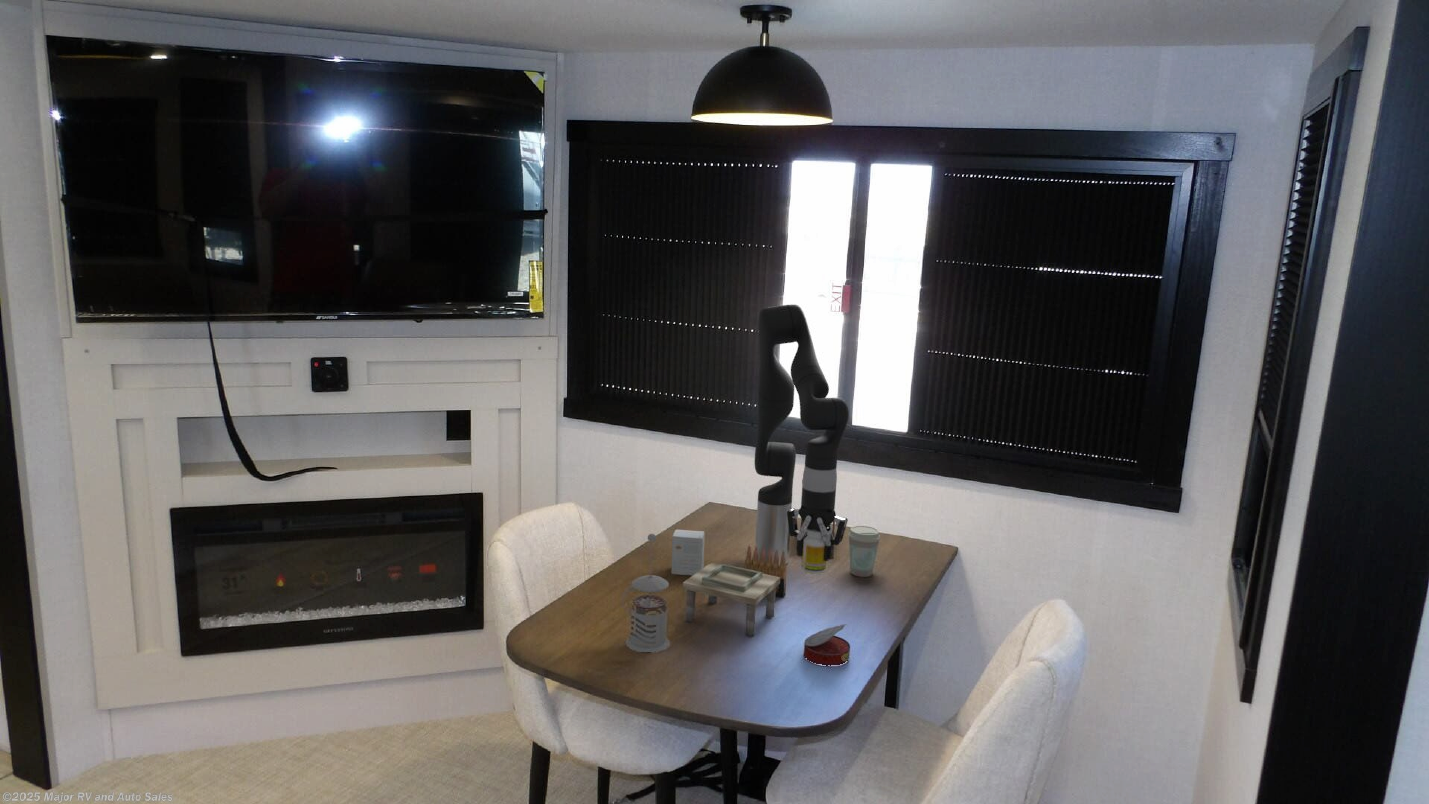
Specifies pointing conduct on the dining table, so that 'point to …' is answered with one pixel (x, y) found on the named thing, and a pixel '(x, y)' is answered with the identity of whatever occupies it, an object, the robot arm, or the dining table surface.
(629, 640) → the french press
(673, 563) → the small box
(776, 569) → the ammunition clip
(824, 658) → the canned food
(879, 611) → the dining table surface
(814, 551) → the supplement bottle
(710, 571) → the miniature tray table
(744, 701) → the dining table surface
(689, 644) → the dining table surface
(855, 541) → the coffee cup
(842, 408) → the robot arm
